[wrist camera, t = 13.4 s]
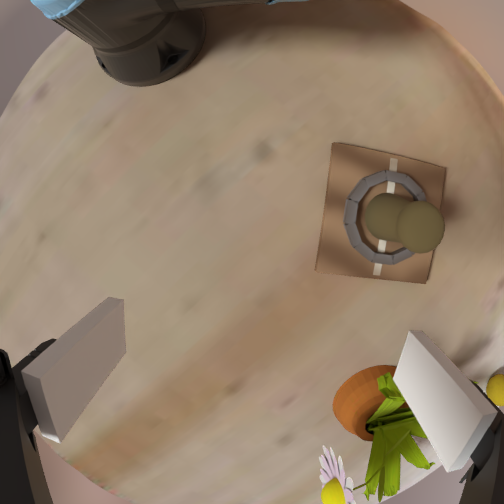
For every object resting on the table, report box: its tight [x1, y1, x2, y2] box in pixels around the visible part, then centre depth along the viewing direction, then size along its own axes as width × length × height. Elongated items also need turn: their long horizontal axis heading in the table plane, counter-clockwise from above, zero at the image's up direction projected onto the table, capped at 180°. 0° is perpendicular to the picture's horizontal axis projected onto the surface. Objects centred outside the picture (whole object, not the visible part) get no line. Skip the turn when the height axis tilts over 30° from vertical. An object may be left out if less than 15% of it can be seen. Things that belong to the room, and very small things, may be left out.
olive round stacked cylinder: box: [365, 193, 445, 254], centre depth 32 cm, size 6×6×11 cm
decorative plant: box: [319, 365, 478, 504], centre depth 32 cm, size 27×24×25 cm
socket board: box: [315, 142, 445, 284], centre depth 37 cm, size 16×16×2 cm
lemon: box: [486, 374, 504, 406], centre depth 40 cm, size 6×6×8 cm
